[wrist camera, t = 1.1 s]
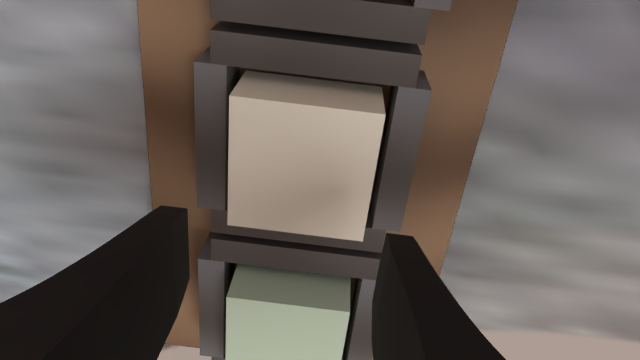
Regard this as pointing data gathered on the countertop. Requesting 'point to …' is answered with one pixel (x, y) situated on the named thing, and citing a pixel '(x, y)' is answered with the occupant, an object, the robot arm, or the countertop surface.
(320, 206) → the cream button
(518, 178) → the countertop surface
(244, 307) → the sage button
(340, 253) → the button panel
